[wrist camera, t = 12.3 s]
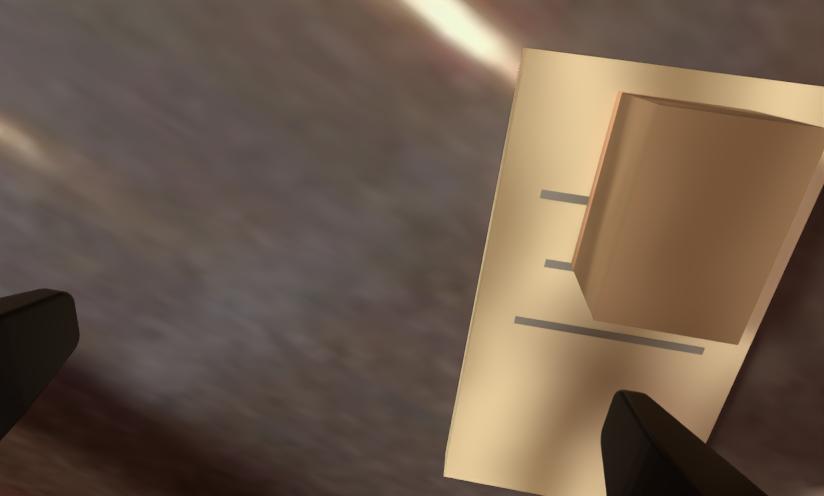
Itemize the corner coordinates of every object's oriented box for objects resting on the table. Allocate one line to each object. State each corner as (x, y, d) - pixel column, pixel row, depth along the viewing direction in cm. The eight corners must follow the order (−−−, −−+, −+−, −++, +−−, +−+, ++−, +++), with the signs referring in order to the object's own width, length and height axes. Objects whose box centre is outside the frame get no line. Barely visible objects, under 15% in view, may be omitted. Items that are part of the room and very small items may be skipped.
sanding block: (570, 264, 18) (593, 320, 14) (617, 91, 16) (659, 104, 12) (684, 283, 18) (737, 345, 14) (749, 109, 16) (833, 129, 12)
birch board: (445, 451, 24) (443, 477, 23) (523, 47, 17) (527, 48, 16) (659, 491, 24) (671, 520, 22) (833, 87, 16) (866, 92, 15)
